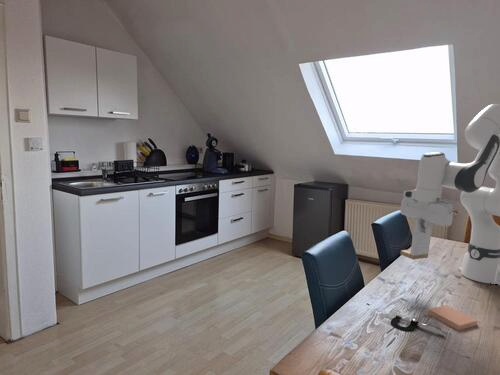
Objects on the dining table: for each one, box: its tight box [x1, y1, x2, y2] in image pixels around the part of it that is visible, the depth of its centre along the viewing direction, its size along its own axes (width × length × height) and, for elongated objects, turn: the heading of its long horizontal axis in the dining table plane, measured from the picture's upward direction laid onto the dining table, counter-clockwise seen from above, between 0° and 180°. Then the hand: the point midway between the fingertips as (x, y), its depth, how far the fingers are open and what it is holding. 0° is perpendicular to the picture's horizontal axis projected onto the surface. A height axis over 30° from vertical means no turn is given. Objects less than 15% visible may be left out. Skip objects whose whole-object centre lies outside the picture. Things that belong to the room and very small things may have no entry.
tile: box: [427, 304, 479, 331], centre depth 121 cm, size 9×2×11 cm
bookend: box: [399, 218, 433, 260], centre depth 141 cm, size 8×6×16 cm
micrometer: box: [390, 315, 447, 338], centre depth 113 cm, size 15×7×2 cm, turn 49°
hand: (422, 232), depth 139 cm, fingers closed on bookend
